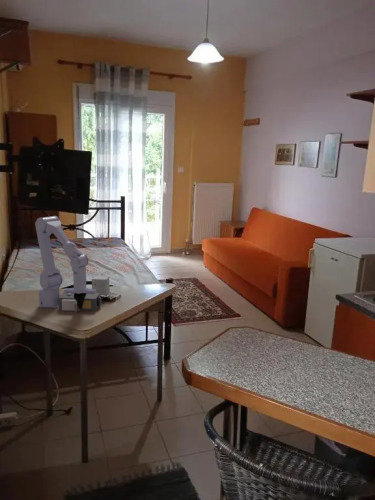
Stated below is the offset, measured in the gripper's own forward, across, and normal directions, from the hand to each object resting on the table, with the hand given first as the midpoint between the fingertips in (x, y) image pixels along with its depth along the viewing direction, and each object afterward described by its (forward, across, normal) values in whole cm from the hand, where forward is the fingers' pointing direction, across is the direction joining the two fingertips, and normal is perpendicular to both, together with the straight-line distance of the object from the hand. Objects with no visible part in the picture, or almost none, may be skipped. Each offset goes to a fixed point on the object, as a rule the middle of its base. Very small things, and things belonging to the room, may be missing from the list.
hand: (80, 308), depth 191 cm
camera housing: (+2, -3, +8) cm, 8 cm away
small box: (+3, +4, +25) cm, 25 cm away
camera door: (+2, -5, +1) cm, 6 cm away
